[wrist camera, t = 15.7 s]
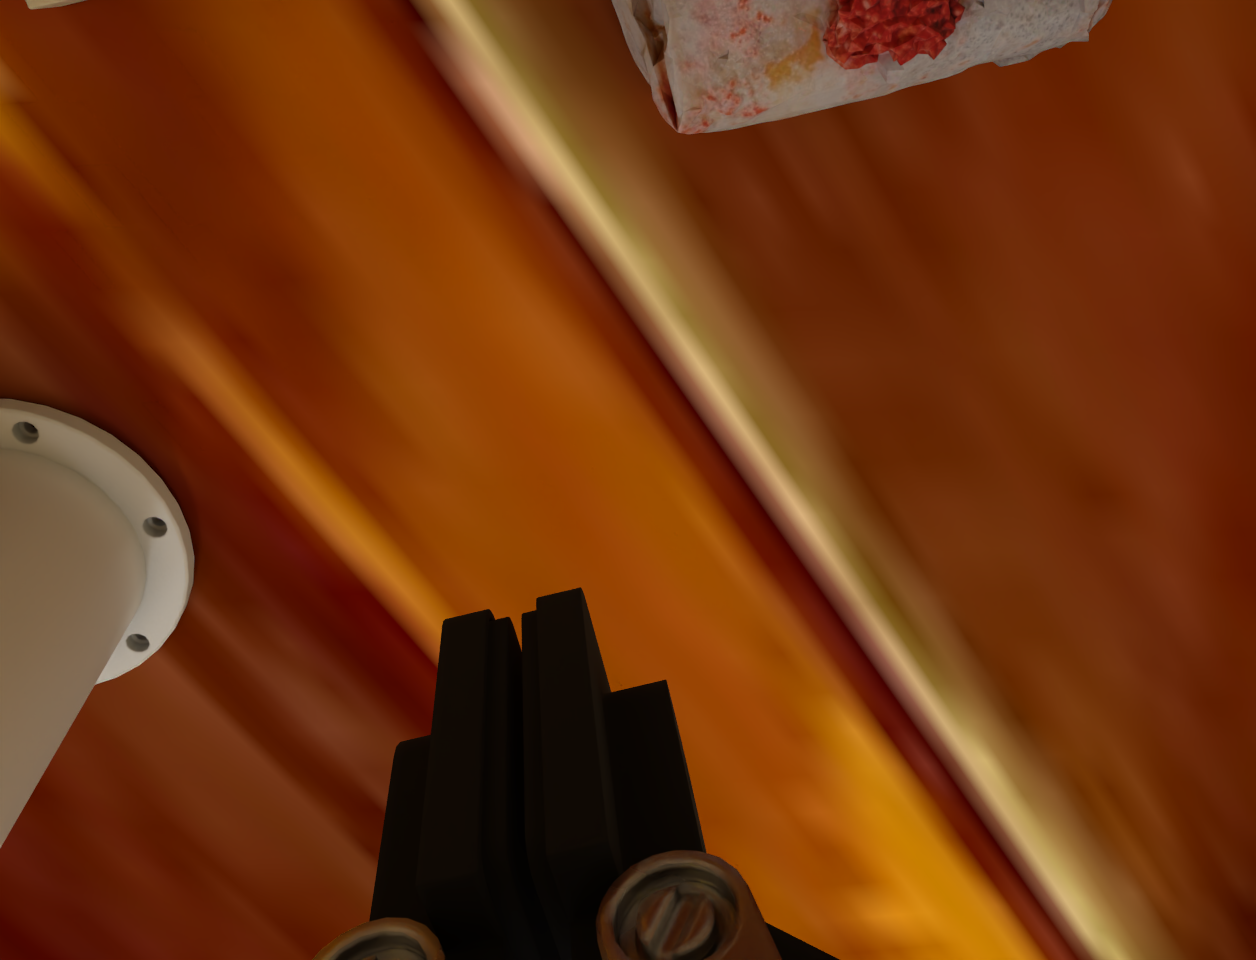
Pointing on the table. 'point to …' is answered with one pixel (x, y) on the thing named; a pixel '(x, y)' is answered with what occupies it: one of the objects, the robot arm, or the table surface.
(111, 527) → the robot arm
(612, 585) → the table surface
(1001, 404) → the table surface
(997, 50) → the food item
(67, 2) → the control block
